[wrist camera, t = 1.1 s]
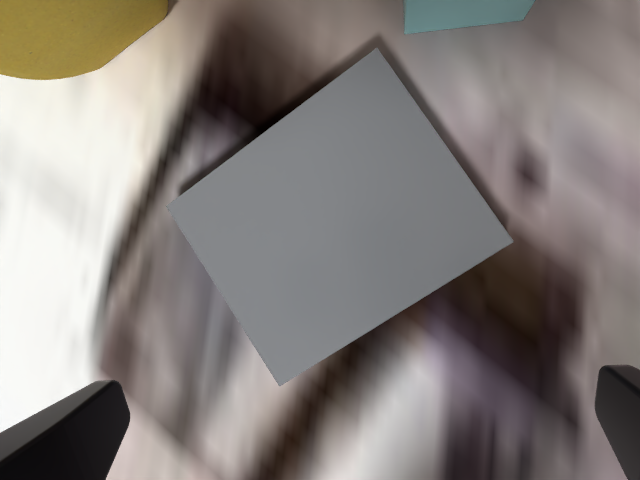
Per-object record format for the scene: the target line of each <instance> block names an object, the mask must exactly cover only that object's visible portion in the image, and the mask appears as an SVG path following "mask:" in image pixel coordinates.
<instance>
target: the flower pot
mask: <svg viewBox="0 0 640 480" xmlns="http://www.w3.org/2000/svg"><path fill="white" fill-rule="evenodd" d="M167 11H168V0H0V74H2V75H6V76H11V77H16V78H23V79H34V80H51V79H62V78H68V77H74V76H78V75H82V74H85V73H88V72H92V71H95V70H97V69H100V68H101V67H103V66H104V65H105V64H106V63H108V62H109V61H110V60H111V59H113V58H114V57H115V56H117V55H118V54H119V53H120V52H122V51H123V50H124V49H125V48H127V47H128V46H129V45H130V44H132V43H133V42H134V41H135V40H137V39H138V38H140V37H141V36H142V35H144V34H145V33H146V32H147V31H149V30H150V29H151V28H153V27H154V26H155V25H157V24H158V23H159V22H161V21H162V20H163V19H164V18H165V16H166V14H167Z"/></svg>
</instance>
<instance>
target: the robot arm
mask: <svg viewBox="0 0 640 480" xmlns="http://www.w3.org/2000/svg"><path fill="white" fill-rule="evenodd" d="M595 411H596V415H597V418H598V420H599V422H600V424H601V426H602V428H603V430H604V432H605V434H606V437H607V439H608V441H609V443H610V445H611V447H612V449H613V451H614V453H615V455H616V457H617V459H618V461H619V463H620V465H621V467H622V469H623V471H624V473H625V475H626V477H627V479H628V480H640V370H639V369H637V368H635V367H633V366H630V365H606V366H603V367H602V368H601V369H600V371H599V374H598V382H597V390H596V397H595ZM129 422H130V411H129V408H128V405H127V402H126V399H125V396H124V393H123V390H122V387H121V384H120V383H119V382H118V381H115V380H104V381H96V382H94V383H92V384H90V385H88V386H86V387H84V388H82V389H81V390H79V391H77V392H75V393H73V394H71V395H69V396H68V397H66V398H64V399H62V400H60V401H58V402H56V403H55V404H53V405H51V406H49V407H47V408H45V409H44V410H42V411H40V412H38V413H36V414H34V415H32V416H31V417H29V418H27V419H25V420H23V421H21V422H19V423H18V424H16V425H14V426H12V427H10V428H8V429H6V430H5V431H3V432H1V433H0V480H106V477H107V475H108V473H109V470H110V468H111V466H112V463H113V461H114V459H115V456H116V454H117V452H118V449H119V447H120V445H121V442H122V440H123V438H124V435H125V433H126V431H127V428H128V426H129Z"/></svg>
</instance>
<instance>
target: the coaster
mask: <svg viewBox="0 0 640 480" xmlns="http://www.w3.org/2000/svg"><path fill="white" fill-rule="evenodd" d="M166 207H167V209H168V210H169V212H170V214H171V215H172V217H173V218H174V220H175V221H176V223H177V225H178V226H179V228H180V229H181V231H182V233H183V234H184V236H185V237H186V239H187V241H188V242H189V244H190V245H191V247H192V248H193V250H194V252H195V253H196V255H197V256H198V258H199V260H200V261H201V263H202V264H203V266H204V268H205V269H206V271H207V272H208V274H209V275H210V277H211V279H212V280H213V282H214V283H215V285H216V287H217V288H218V290H219V291H220V293H221V294H222V296H223V298H224V299H225V301H226V302H227V304H228V306H229V307H230V309H231V310H232V312H233V314H234V315H235V317H236V318H237V320H238V321H239V323H240V325H241V326H242V328H243V329H244V331H245V333H246V334H247V336H248V337H249V339H250V341H251V342H252V344H253V345H254V347H255V348H256V350H257V352H258V353H259V355H260V356H261V358H262V360H263V361H264V363H265V364H266V366H267V368H268V369H269V371H270V372H271V374H272V375H273V377H274V379H275V380H276V382H277V383H278V385H279V386H281V385H283V384H284V383H286V382H287V381H289V380H291V379H292V378H294V377H296V376H297V375H299V374H300V373H302V372H304V371H305V370H307V369H309V368H310V367H312V366H313V365H315V364H317V363H318V362H320V361H321V360H323V359H325V358H326V357H328V356H330V355H331V354H333V353H334V352H336V351H338V350H339V349H341V348H342V347H344V346H346V345H347V344H349V343H351V342H352V341H354V340H355V339H357V338H359V337H360V336H362V335H364V334H365V333H367V332H368V331H370V330H372V329H373V328H375V327H376V326H378V325H380V324H381V323H383V322H385V321H386V320H388V319H389V318H391V317H393V316H394V315H396V314H398V313H399V312H401V311H402V310H404V309H406V308H407V307H409V306H410V305H412V304H414V303H415V302H417V301H419V300H420V299H422V298H423V297H425V296H427V295H428V294H430V293H431V292H433V291H435V290H436V289H438V288H440V287H441V286H443V285H444V284H446V283H448V282H449V281H451V280H453V279H454V278H456V277H457V276H459V275H461V274H462V273H464V272H465V271H467V270H469V269H470V268H472V267H474V266H475V265H477V264H478V263H480V262H482V261H483V260H485V259H486V258H488V257H490V256H491V255H493V254H495V253H496V252H498V251H499V250H501V249H503V248H504V247H506V246H508V245H509V244H511V243H512V242H514V241H513V240H512V238H511V237H510V236H509V234H508V233H507V231H506V230H505V228H504V227H503V226H502V224H501V223H500V221H499V220H498V219H497V217H496V216H495V214H494V213H493V211H492V210H491V209H490V207H489V206H488V204H487V203H486V201H485V200H484V199H483V197H482V196H481V194H480V193H479V192H478V190H477V189H476V187H475V186H474V184H473V183H472V182H471V180H470V179H469V177H468V176H467V174H466V173H465V172H464V170H463V169H462V167H461V166H460V165H459V163H458V162H457V160H456V159H455V157H454V156H453V155H452V153H451V152H450V150H449V149H448V148H447V146H446V145H445V143H444V142H443V140H442V139H441V138H440V136H439V135H438V133H437V132H436V130H435V129H434V128H433V126H432V125H431V123H430V122H429V121H428V119H427V118H426V116H425V115H424V113H423V112H422V111H421V109H420V108H419V106H418V105H417V103H416V102H415V101H414V99H413V98H412V96H411V95H410V94H409V92H408V91H407V89H406V88H405V86H404V85H403V84H402V82H401V81H400V79H399V78H398V77H397V75H396V74H395V72H394V71H393V69H392V68H391V67H390V65H389V64H388V62H387V61H386V59H385V58H384V57H383V55H382V54H381V52H380V51H379V50H378V48H376V49H374V50H373V51H372V52H370V53H369V54H368V55H366V56H365V57H364V58H362V59H361V60H360V61H358V62H357V63H356V64H354V65H353V66H352V67H350V68H349V69H348V70H346V71H345V72H344V73H342V74H341V75H340V76H338V77H337V78H336V79H334V80H333V81H332V82H330V83H329V84H328V85H326V86H325V87H324V88H322V89H321V90H320V91H319V92H317V93H316V94H315V95H313V96H312V97H311V98H309V99H308V100H307V101H305V102H304V103H303V104H301V105H300V106H299V107H297V108H296V109H295V110H293V111H292V112H291V113H289V114H288V115H287V116H285V117H284V118H283V119H281V120H280V121H279V122H277V123H276V124H275V125H273V126H272V127H271V128H269V129H268V130H267V131H265V132H264V133H263V134H261V135H260V136H259V137H257V138H256V139H255V140H253V141H252V142H251V143H249V144H248V145H247V146H245V147H244V148H243V149H241V150H240V151H239V152H237V153H236V154H235V155H234V156H232V157H231V158H230V159H228V160H227V161H226V162H224V163H223V164H222V165H220V166H219V167H218V168H216V169H215V170H214V171H212V172H211V173H210V174H208V175H207V176H206V177H204V178H203V179H202V180H200V181H199V182H198V183H196V184H195V185H194V186H192V187H191V188H190V189H188V190H187V191H186V192H184V193H183V194H182V195H180V196H179V197H178V198H176V199H175V200H174V201H172V202H171V203H170V204H168V205H167V206H166Z"/></svg>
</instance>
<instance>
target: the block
mask: <svg viewBox="0 0 640 480" xmlns="http://www.w3.org/2000/svg"><path fill="white" fill-rule="evenodd" d="M534 2H535V0H403V5H404V34H411V33H420V32H428V31H437V30H445V29H454V28H462V27H471V26H479V25H488V24H496V23H505V22H513V21H522V20H523V19H524V18H525V16H526V15H527V13H528V11H529V10H530V8H531V7H532V5H533V3H534Z"/></svg>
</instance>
